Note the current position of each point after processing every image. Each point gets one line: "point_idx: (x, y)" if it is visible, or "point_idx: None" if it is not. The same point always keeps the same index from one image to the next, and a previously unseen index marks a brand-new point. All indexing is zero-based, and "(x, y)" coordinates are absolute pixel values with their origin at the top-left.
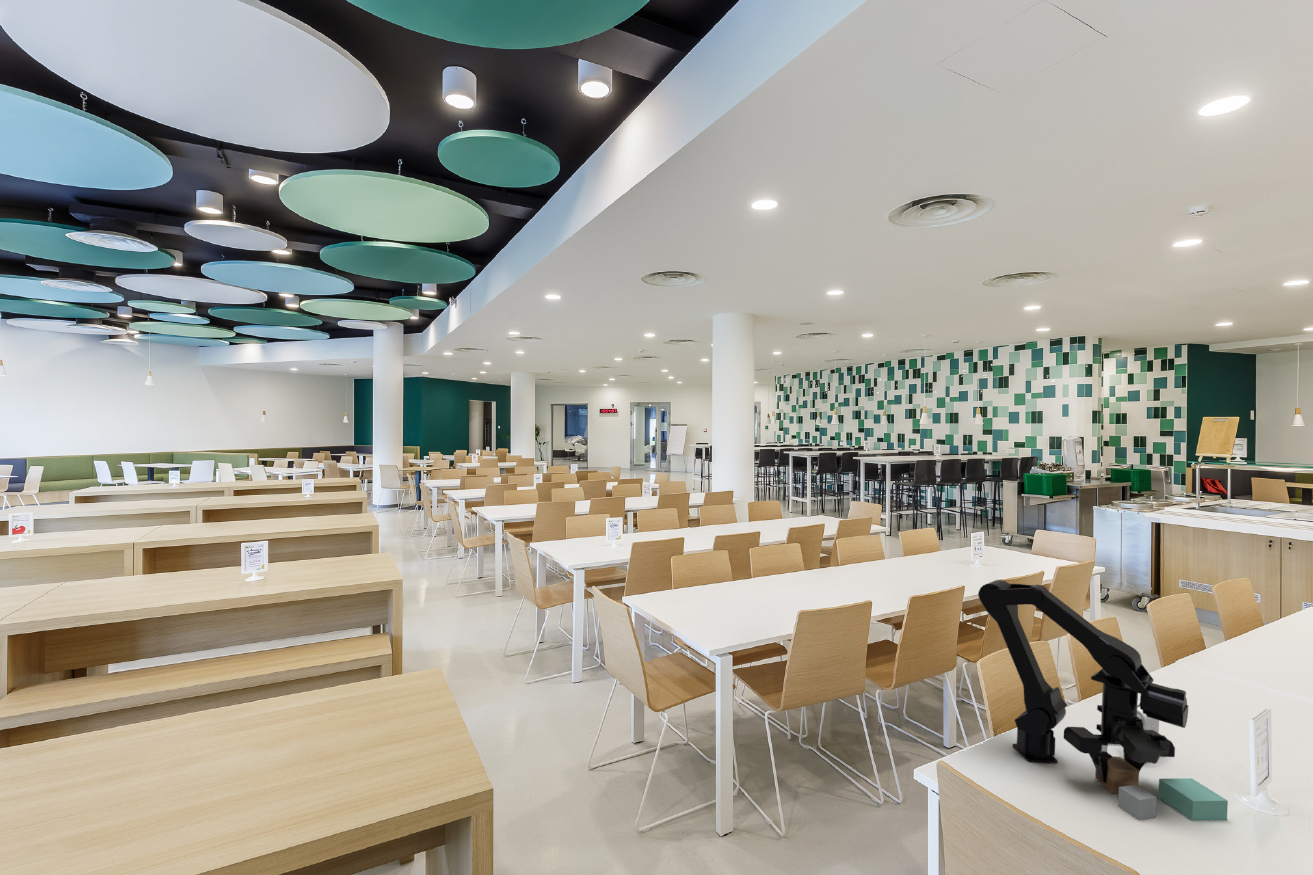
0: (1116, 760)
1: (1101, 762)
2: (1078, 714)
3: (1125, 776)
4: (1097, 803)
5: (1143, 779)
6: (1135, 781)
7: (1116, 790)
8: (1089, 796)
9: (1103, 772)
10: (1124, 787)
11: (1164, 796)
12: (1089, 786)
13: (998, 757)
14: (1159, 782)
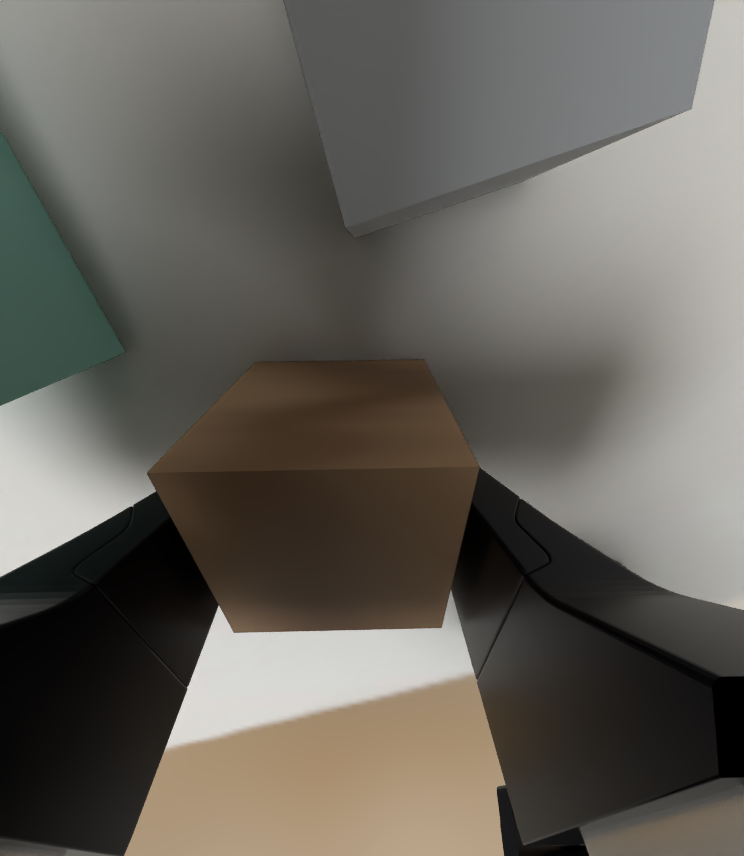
0: (305, 594)
1: (589, 552)
2: (218, 724)
3: (330, 425)
4: (662, 216)
5: None
6: (243, 403)
7: (402, 368)
8: (624, 312)
9: (483, 473)
10: (604, 98)
11: (67, 309)
12: (510, 420)
13: (723, 575)
14: (15, 393)
